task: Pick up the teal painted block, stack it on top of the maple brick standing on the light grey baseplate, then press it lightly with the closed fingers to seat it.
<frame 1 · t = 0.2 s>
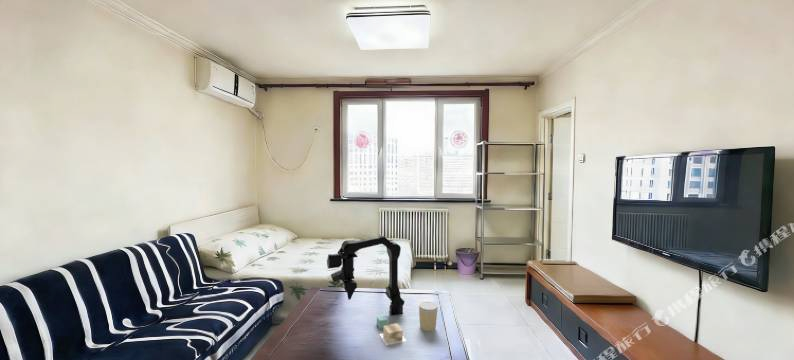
hand: (347, 295, 164), 14 cm above the table, tool pointing down, fingers open, 9 cm apart
coffee cup: (427, 329, 160), on the table
teal block: (382, 327, 160), on the table
maple brick: (392, 337, 150), point 1 cm above the table, touching baseplate
baseplate: (392, 339, 150), on the table
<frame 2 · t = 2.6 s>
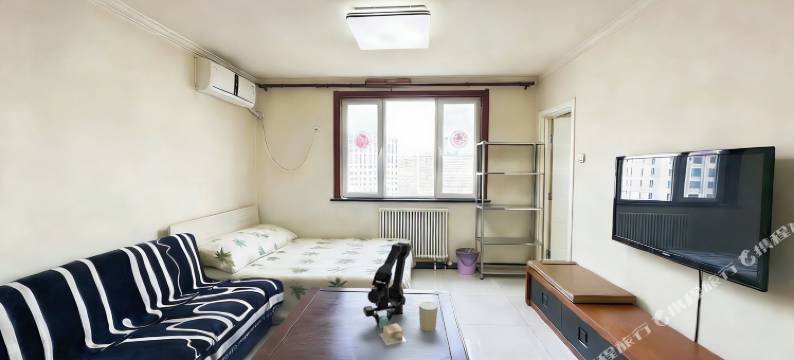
hand: (382, 325, 160), 1 cm above the table, tool pointing down, fingers closed on teal block, 4 cm apart
teal block: (382, 327, 160), on the table, touching gripper
everything else where it was.
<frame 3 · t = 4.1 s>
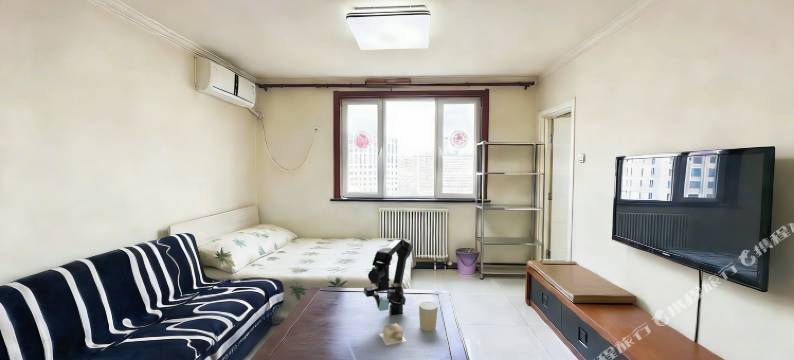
hand: (382, 306, 160), 11 cm above the table, tool pointing down, fingers closed on teal block, 4 cm apart
teal block: (382, 308, 160), point 10 cm above the table, touching gripper
everything else where it was.
when the fingers open (7 cm above the table, at t = 5.8 s): teal block stays where it is, resting on maple brick.
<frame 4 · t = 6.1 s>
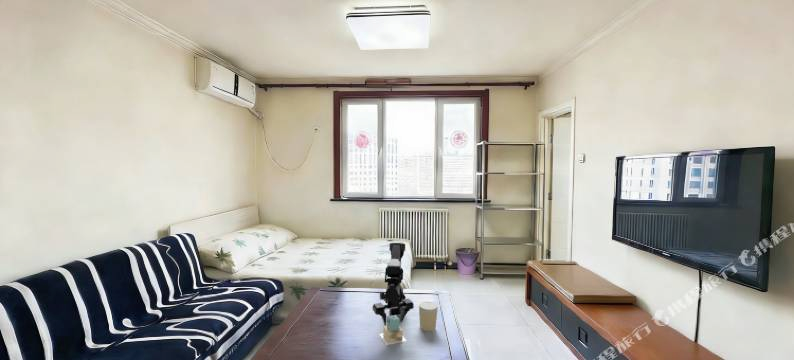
hand: (392, 324, 149), 7 cm above the table, tool pointing down, fingers open, 8 cm apart
teal block: (392, 328, 149), point 5 cm above the table, touching maple brick
maple brick: (392, 337, 150), point 1 cm above the table, touching baseplate, teal block
everything else where it was.
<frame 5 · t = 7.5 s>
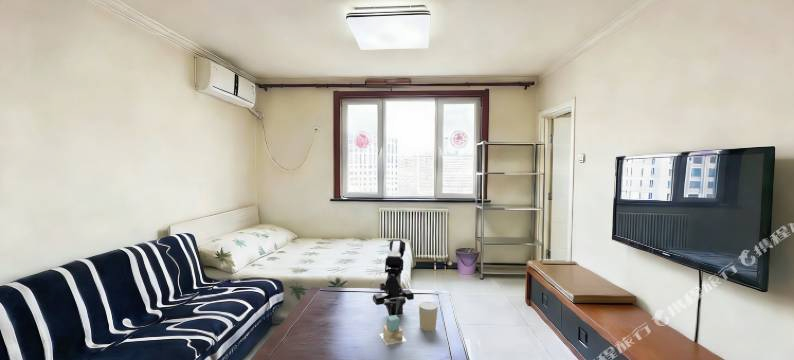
hand: (393, 314, 149), 12 cm above the table, tool pointing down, fingers open, 3 cm apart
nothing on the table moved.
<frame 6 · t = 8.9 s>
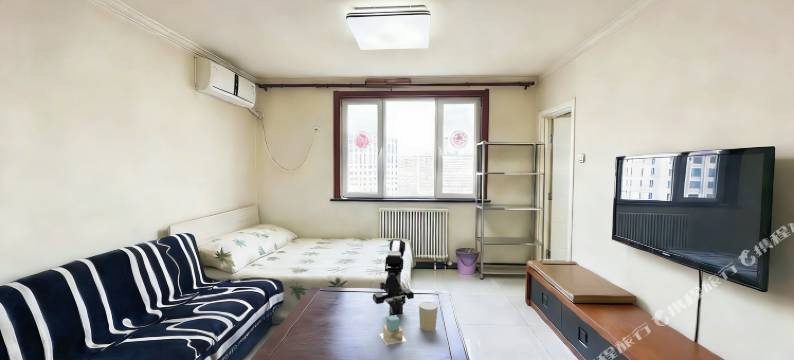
hand: (393, 313, 149), 12 cm above the table, tool pointing down, fingers closed
nothing on the table moved.
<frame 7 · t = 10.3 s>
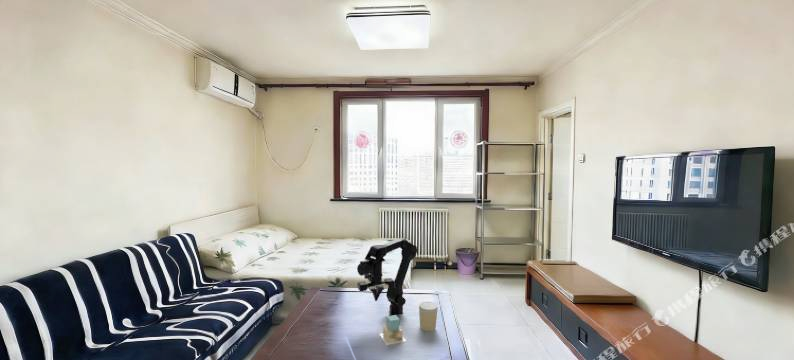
hand: (375, 300, 164), 12 cm above the table, tool pointing down, fingers closed
nothing on the table moved.
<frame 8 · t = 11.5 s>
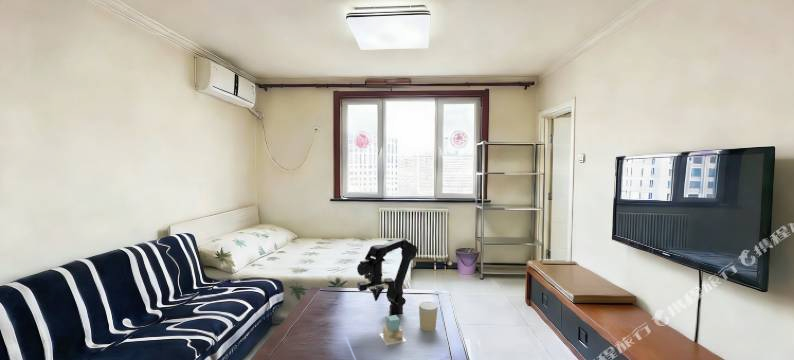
hand: (375, 300, 164), 12 cm above the table, tool pointing down, fingers closed
nothing on the table moved.
at the end: teal block 0.0 cm off-centre on the maple brick, point 4.5 cm above the maple brick's base; teal block tilted 0°; maple brick moved 0.0 cm from its start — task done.
